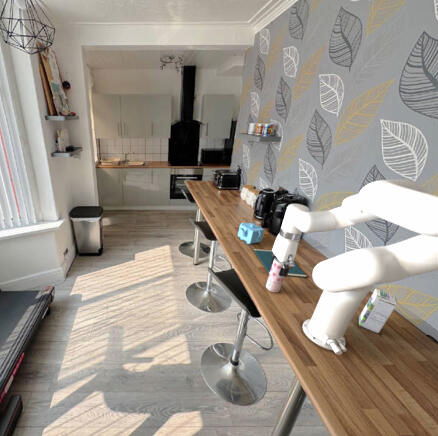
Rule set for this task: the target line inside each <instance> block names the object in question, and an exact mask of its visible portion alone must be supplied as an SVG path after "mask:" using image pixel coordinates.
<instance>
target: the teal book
mask: <svg viewBox="0 0 438 436" xmlns="http://www.w3.org/2000/svg"><path fill="white" fill-rule="evenodd" d="M253 251H254V253H255V255H256V256H257V257H258V259H259V261H260V262H261V263H262V265H263V266H264V268H265V270H266V271H267V273H268V275H269V274H270V271H271V267H272V264H271V261H272V258H273V251H272V249H261V248H260V249H259V248H253ZM287 261H288V260H287ZM286 277H295V278H297V277H298V278H308V276H307V275H306V274H305V272H304V271H303V270H302V269H301V268H300V266H298V265H297V263H296V262H295V261H294V267H292V268H291V269H289V272H288V275H287V276H286Z"/></svg>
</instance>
